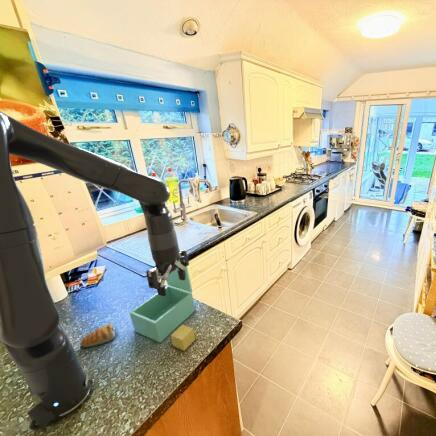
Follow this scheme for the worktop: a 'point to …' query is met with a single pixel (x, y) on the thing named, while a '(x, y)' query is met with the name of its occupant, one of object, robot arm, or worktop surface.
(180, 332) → the block
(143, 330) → the cool box
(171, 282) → the lid
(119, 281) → the worktop surface
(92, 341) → the pastry
